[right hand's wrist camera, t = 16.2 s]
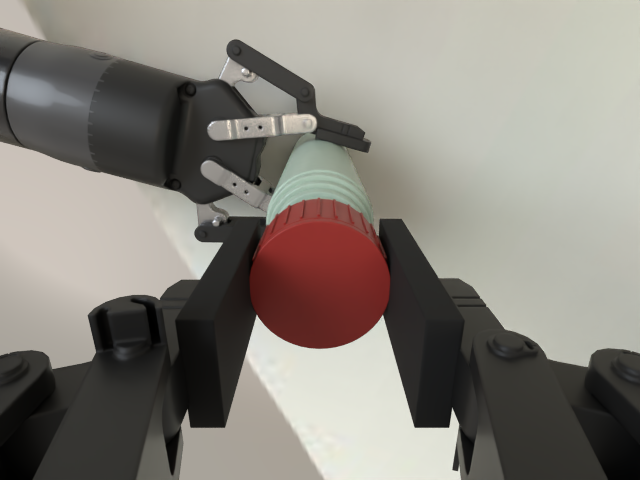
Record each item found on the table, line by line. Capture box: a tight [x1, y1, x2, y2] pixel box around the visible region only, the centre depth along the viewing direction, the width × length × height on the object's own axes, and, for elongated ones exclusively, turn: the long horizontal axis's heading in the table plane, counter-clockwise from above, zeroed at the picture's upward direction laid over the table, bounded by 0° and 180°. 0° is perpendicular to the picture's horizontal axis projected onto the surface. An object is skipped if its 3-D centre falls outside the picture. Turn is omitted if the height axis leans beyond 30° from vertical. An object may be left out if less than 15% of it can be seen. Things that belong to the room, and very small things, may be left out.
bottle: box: [266, 133, 374, 226], centre depth 23 cm, size 5×5×24 cm
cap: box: [249, 198, 390, 349], centre depth 13 cm, size 4×4×2 cm
